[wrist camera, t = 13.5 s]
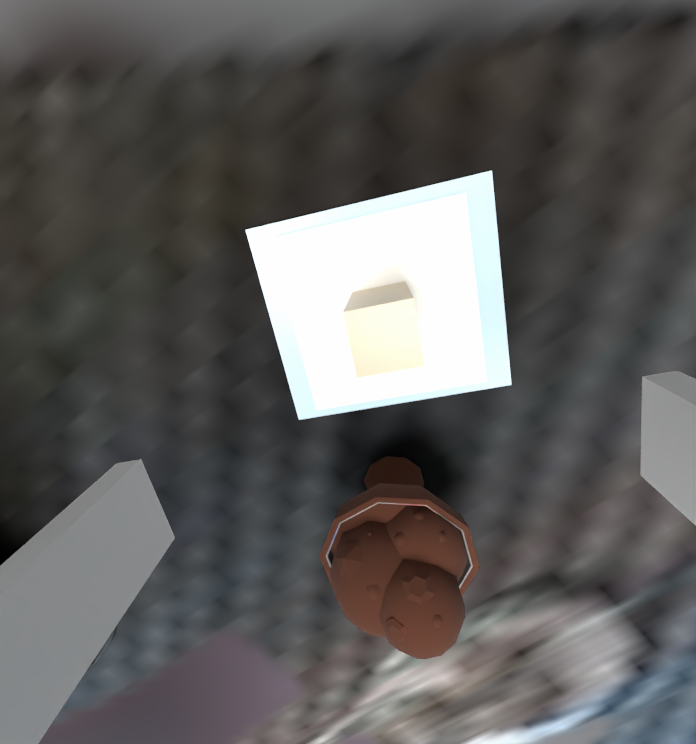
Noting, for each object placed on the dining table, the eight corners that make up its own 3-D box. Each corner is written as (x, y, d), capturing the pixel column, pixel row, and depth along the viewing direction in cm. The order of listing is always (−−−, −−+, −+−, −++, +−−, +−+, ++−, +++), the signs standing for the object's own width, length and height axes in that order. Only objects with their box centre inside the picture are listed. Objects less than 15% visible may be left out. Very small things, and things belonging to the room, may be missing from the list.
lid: (317, 406, 34) (297, 462, 26) (274, 238, 30) (232, 240, 21) (484, 378, 32) (520, 428, 24) (463, 193, 28) (499, 177, 19)
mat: (300, 416, 35) (298, 419, 35) (248, 229, 30) (245, 229, 30) (509, 382, 33) (511, 384, 32) (489, 171, 28) (492, 170, 27)
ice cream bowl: (436, 415, 34) (475, 544, 20) (464, 518, 37) (514, 692, 23) (321, 443, 36) (282, 580, 22) (357, 539, 39) (343, 712, 25)
